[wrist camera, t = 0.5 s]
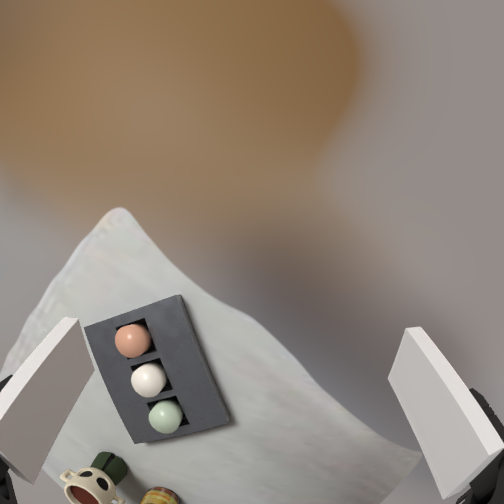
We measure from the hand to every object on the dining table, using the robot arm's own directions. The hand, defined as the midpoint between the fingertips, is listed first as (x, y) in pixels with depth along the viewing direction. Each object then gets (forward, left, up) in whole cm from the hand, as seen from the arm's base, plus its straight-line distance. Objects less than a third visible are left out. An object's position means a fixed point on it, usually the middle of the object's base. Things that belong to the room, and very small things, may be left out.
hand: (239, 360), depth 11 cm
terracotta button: (+1, +16, -30) cm, 34 cm away
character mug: (-20, +33, -32) cm, 50 cm away
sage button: (-11, +16, -30) cm, 36 cm away
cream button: (-5, +16, -30) cm, 34 cm away
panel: (-5, +16, -32) cm, 36 cm away
